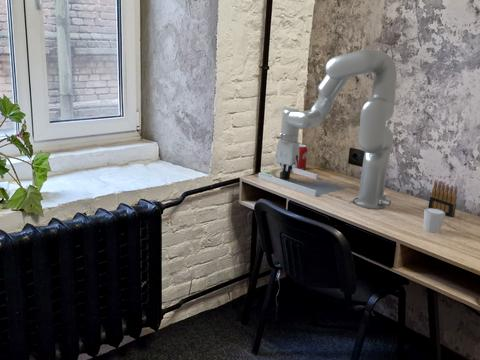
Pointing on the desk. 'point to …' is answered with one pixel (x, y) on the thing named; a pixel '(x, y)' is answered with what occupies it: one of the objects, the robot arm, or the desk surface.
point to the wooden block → (276, 172)
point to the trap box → (309, 188)
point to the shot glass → (433, 220)
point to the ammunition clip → (443, 199)
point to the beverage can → (302, 157)
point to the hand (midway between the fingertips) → (285, 179)
